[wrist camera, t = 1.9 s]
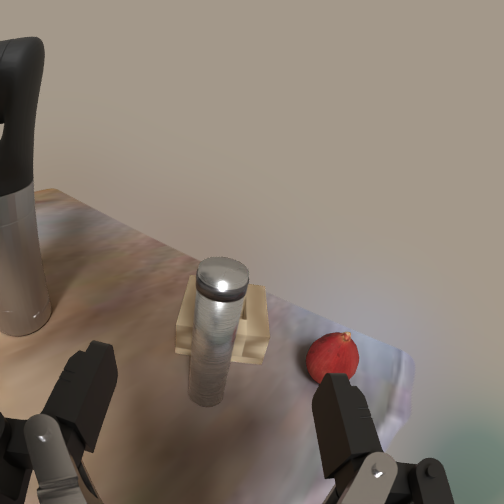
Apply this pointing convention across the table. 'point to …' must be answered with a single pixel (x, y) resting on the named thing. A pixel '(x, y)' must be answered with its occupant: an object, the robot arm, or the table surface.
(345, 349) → the onion
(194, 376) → the cylinder
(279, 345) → the table surface
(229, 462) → the table surface
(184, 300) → the square ring gauge
